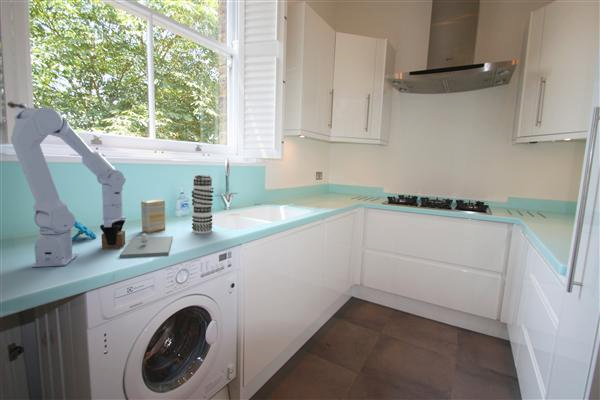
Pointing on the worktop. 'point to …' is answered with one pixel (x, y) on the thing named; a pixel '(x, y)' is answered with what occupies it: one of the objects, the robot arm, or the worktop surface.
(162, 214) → the supplement box
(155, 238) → the hub board
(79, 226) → the gear
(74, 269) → the worktop surface
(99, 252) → the worktop surface
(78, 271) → the worktop surface
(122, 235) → the collar
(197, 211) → the decorative candle
